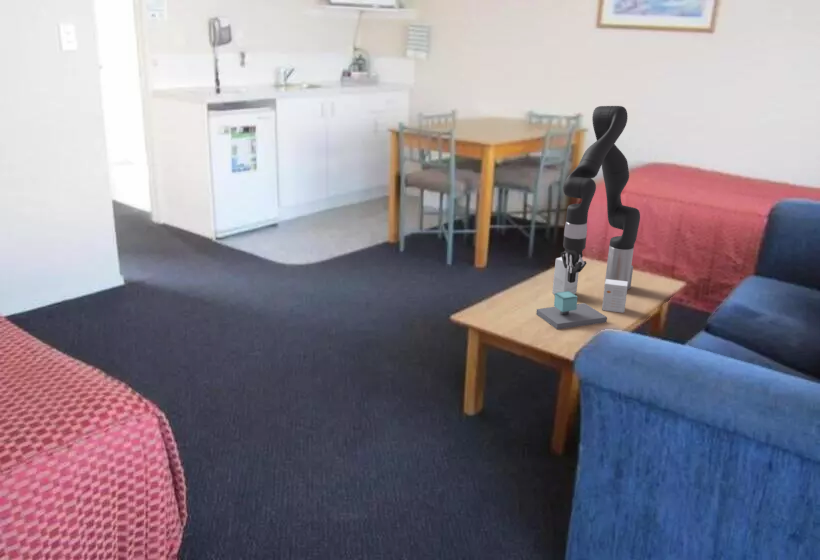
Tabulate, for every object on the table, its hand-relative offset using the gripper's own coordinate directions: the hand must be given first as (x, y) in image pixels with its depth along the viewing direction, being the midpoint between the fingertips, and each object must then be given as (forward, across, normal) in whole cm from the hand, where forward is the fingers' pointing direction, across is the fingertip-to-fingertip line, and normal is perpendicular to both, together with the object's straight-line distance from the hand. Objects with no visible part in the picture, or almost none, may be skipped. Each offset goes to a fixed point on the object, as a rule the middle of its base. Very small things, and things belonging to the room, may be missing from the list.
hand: (571, 281), depth 241 cm
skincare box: (+14, +19, -11) cm, 26 cm away
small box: (+14, 0, -20) cm, 24 cm away
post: (+11, -3, +3) cm, 11 cm away
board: (+13, -3, 0) cm, 13 cm away
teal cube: (+8, -3, +3) cm, 9 cm away
